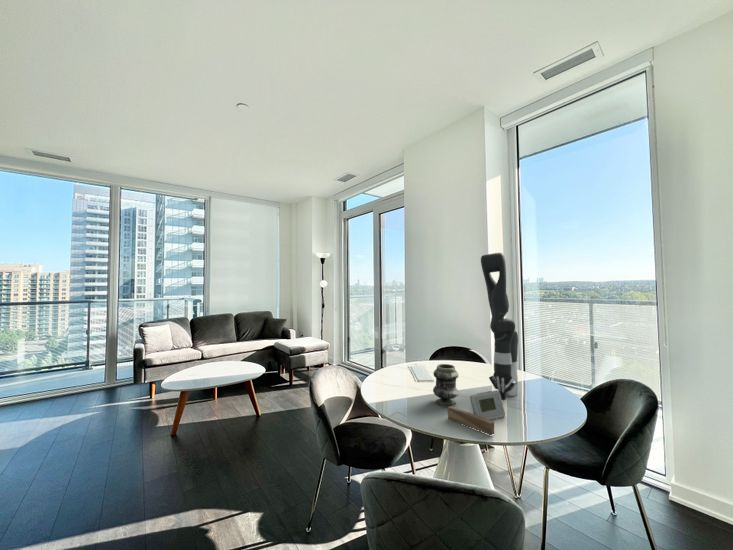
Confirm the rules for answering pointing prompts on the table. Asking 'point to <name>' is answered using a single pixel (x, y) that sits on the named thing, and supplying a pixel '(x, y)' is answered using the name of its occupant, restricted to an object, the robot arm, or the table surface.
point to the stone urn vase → (445, 385)
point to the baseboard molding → (420, 373)
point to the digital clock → (488, 405)
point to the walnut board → (471, 420)
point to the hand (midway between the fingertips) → (502, 399)
